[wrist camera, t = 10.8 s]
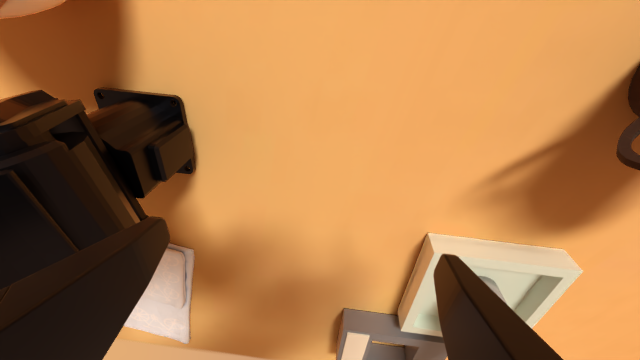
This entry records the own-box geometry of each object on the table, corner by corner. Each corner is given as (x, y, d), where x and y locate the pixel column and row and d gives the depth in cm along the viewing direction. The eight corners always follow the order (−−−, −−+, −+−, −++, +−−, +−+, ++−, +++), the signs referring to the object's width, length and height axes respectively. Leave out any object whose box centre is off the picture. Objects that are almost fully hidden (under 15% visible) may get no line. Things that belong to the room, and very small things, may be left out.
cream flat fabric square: (197, 244, 30) (187, 259, 28) (193, 336, 40) (185, 352, 38) (15, 194, 28) (-8, 207, 26) (60, 304, 39) (46, 318, 37)
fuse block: (336, 343, 36) (335, 366, 34) (344, 308, 32) (343, 331, 30) (427, 356, 36) (433, 380, 34) (447, 322, 32) (455, 346, 29)
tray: (397, 310, 31) (400, 331, 29) (427, 232, 25) (434, 252, 23) (504, 324, 31) (515, 346, 29) (563, 249, 24) (583, 271, 22)
